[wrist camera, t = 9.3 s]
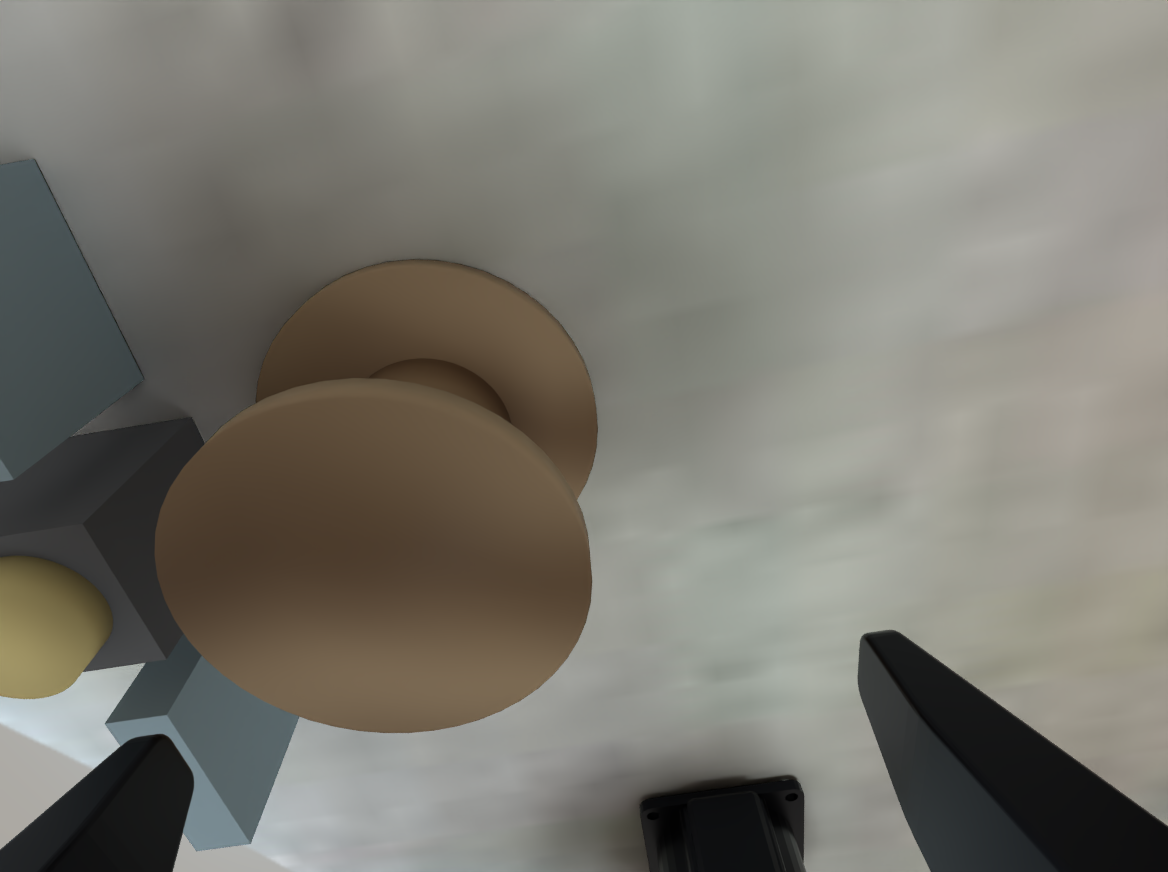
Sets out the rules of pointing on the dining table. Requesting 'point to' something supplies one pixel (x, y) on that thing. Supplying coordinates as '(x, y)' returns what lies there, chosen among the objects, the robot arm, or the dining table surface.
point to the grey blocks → (51, 415)
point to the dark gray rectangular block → (87, 557)
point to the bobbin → (393, 506)
